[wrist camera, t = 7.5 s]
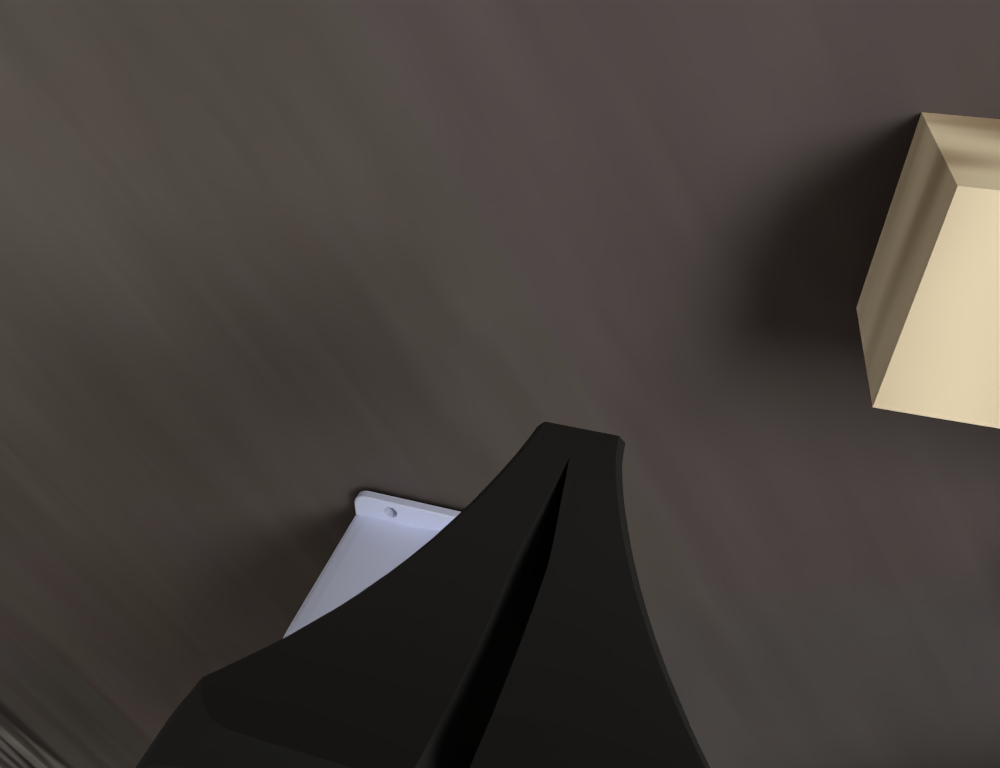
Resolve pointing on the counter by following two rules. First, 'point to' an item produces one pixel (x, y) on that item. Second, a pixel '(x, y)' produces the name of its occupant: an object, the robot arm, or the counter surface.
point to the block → (939, 278)
